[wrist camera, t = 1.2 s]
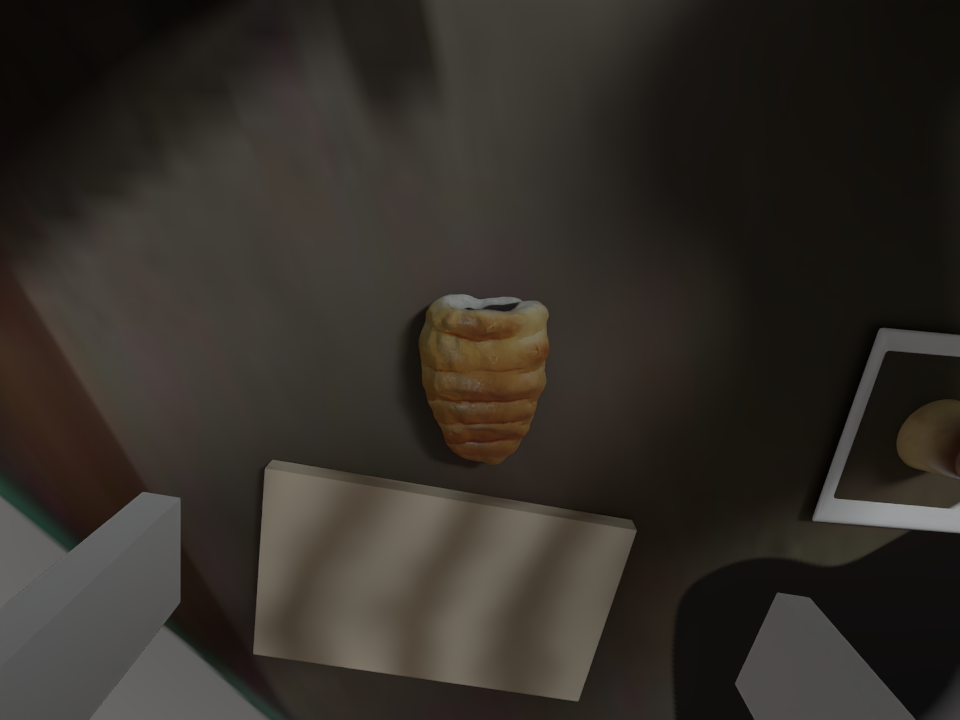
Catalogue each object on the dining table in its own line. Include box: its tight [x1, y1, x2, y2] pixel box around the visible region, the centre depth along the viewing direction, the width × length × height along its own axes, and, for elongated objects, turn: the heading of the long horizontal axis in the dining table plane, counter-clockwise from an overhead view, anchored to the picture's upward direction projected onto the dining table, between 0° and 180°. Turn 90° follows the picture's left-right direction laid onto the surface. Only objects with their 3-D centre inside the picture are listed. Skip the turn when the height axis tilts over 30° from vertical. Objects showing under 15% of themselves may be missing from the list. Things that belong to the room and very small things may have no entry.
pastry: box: [419, 294, 549, 465], centre depth 24 cm, size 9×7×4 cm
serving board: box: [253, 460, 637, 701], centre depth 30 cm, size 22×14×1 cm, turn 79°
